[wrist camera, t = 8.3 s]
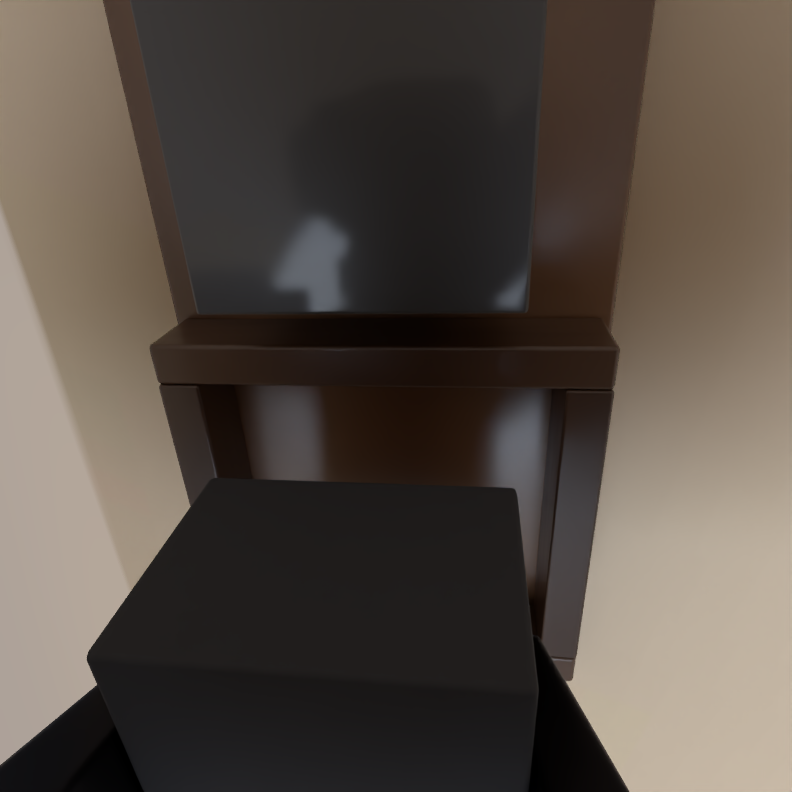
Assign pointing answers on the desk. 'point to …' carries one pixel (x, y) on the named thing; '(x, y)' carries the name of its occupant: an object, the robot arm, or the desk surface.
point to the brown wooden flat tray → (395, 246)
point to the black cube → (328, 643)
